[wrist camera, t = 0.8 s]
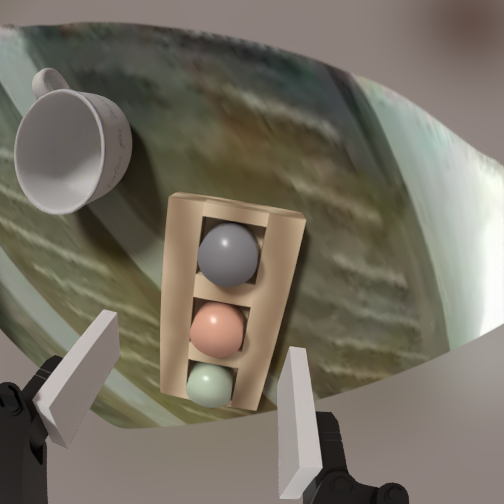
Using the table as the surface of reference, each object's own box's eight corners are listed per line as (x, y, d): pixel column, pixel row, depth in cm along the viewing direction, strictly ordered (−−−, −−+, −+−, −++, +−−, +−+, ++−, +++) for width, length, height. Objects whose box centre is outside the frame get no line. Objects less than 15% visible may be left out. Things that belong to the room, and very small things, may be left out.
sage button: (190, 385, 35) (185, 402, 32) (192, 355, 33) (186, 373, 30) (230, 393, 35) (228, 410, 32) (236, 364, 33) (233, 382, 30)
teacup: (151, 187, 29) (115, 204, 21) (67, 206, 30) (22, 226, 22) (133, 56, 24) (94, 34, 17) (50, 89, 25) (3, 84, 18)
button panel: (166, 377, 37) (160, 392, 34) (178, 191, 29) (168, 196, 26) (257, 394, 37) (256, 410, 35) (302, 212, 29) (306, 220, 26)
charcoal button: (201, 267, 29) (194, 281, 26) (207, 217, 28) (200, 225, 25) (253, 277, 29) (251, 291, 27) (262, 226, 28) (262, 236, 25)
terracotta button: (194, 335, 32) (188, 352, 29) (198, 295, 30) (191, 310, 28) (240, 343, 32) (237, 361, 29) (247, 304, 30) (246, 320, 28)
